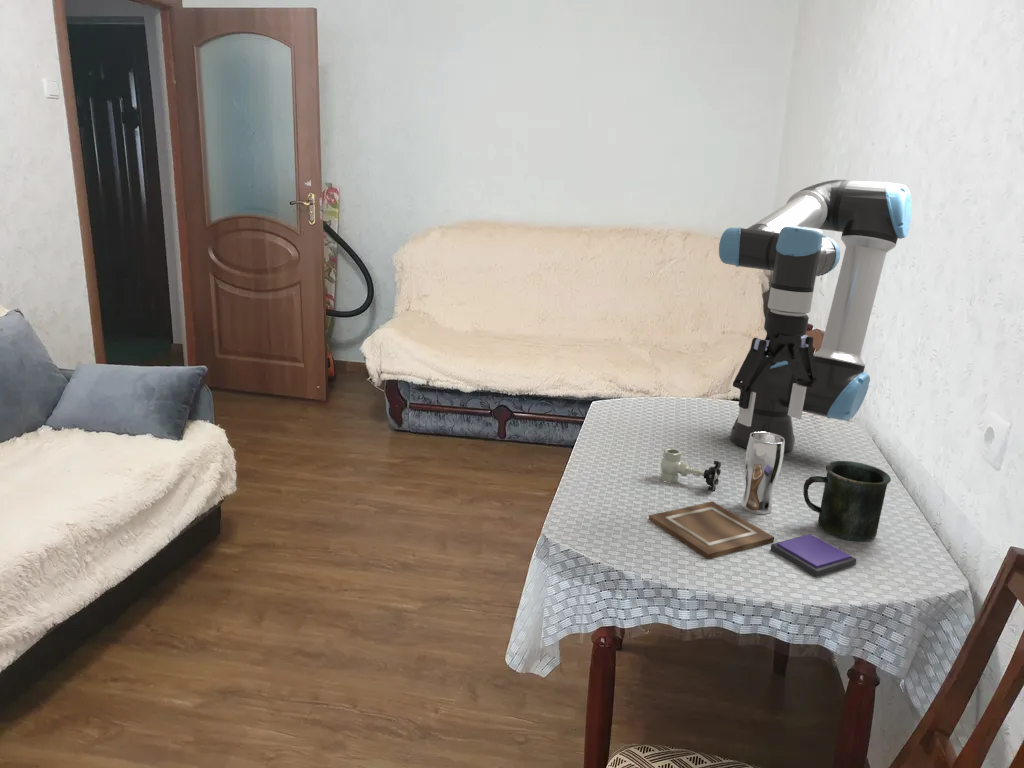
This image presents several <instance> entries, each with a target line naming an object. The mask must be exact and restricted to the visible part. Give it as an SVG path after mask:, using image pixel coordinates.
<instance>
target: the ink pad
mask: <svg viewBox="0 0 1024 768" xmlns="http://www.w3.org/2000/svg"><path fill="white" fill-rule="evenodd" d="M769 551H771V552H773V553H774V554H776V555H777V556H779V557H781V558H782V559H784V560H786V561H788V562H790V563H792V564H793V565H795V566H796V567H798V568H799V569H801V570H803V571H804V572H806V573H808V574H809V575H811V576H813V577H815V578H818V577H822V576H826V575H829V574H831V573H834V572H838V571H842V570H844V569H848V568H851V567H854V566H856V565H857V560H858V559H857V558H856V557H853V556H852V555H850V554H848V553H846V552H845V551H843V550H842V549H839V548H838V547H835V546H833V545H832V544H830V543H828V542H826V541H824V540H822V539H821V538H819V537H817V536H815V535H813V534H812V533H808V534H805V535H801V536H797V537H793V538H789V539H786V540H782V541H777V542H773V543H770V550H769Z"/></svg>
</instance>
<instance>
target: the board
mask: <svg viewBox="0 0 1024 768" xmlns="http://www.w3.org/2000/svg"><path fill="white" fill-rule="evenodd" d="M649 520H650V521H649ZM648 521H649V522H651V523H652V524H654V525H655V526H657V527H658V528H660V529H661V530H663V531H664V532H666V533H667V534H669V535H671V536H672V537H673V538H675V539H677V541H680V542H681V543H682V544H684V545H685V546H687V547H688V548H690V549H691V550H692V551H694V552H696V553H697V554H699V555H700V556H702V557H703V558H705V559H706V560H710V559H714V558H718V557H722V556H727V555H729V554H734V553H738V552H742V551H745V550H749V549H752V548H756V547H761V546H764V545H768V544H773V543H775V536H774V535H771V534H770V533H768V532H766V531H764V530H763V529H762V528H760V527H758V526H756V525H754V524H752V523H751V522H749V521H748V520H745V519H744V518H742V517H740V516H739V515H737V514H735V513H733V512H732V511H730V510H728V509H726V508H725V507H723V506H721V505H719V504H718V503H717V502H714V501H709V502H708V501H707V502H704V503H699V504H695V505H689V506H686V507H681V508H677V509H672V510H667V511H661V512H658V513H653V514H649V515H648Z"/></svg>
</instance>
